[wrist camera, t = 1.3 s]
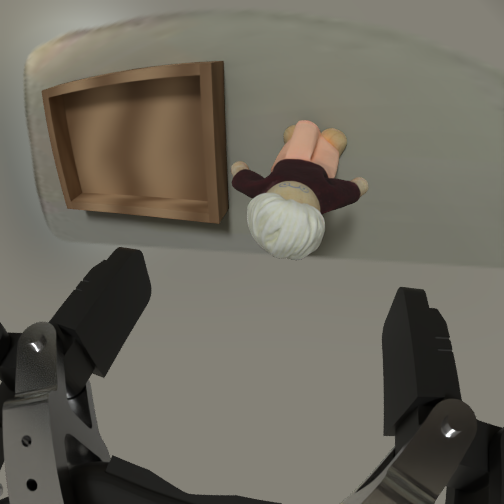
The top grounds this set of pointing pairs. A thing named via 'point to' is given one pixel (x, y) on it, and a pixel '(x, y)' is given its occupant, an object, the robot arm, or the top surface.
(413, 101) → the top surface
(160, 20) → the top surface
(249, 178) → the grandmother figurine
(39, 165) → the top surface
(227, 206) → the walnut tray
